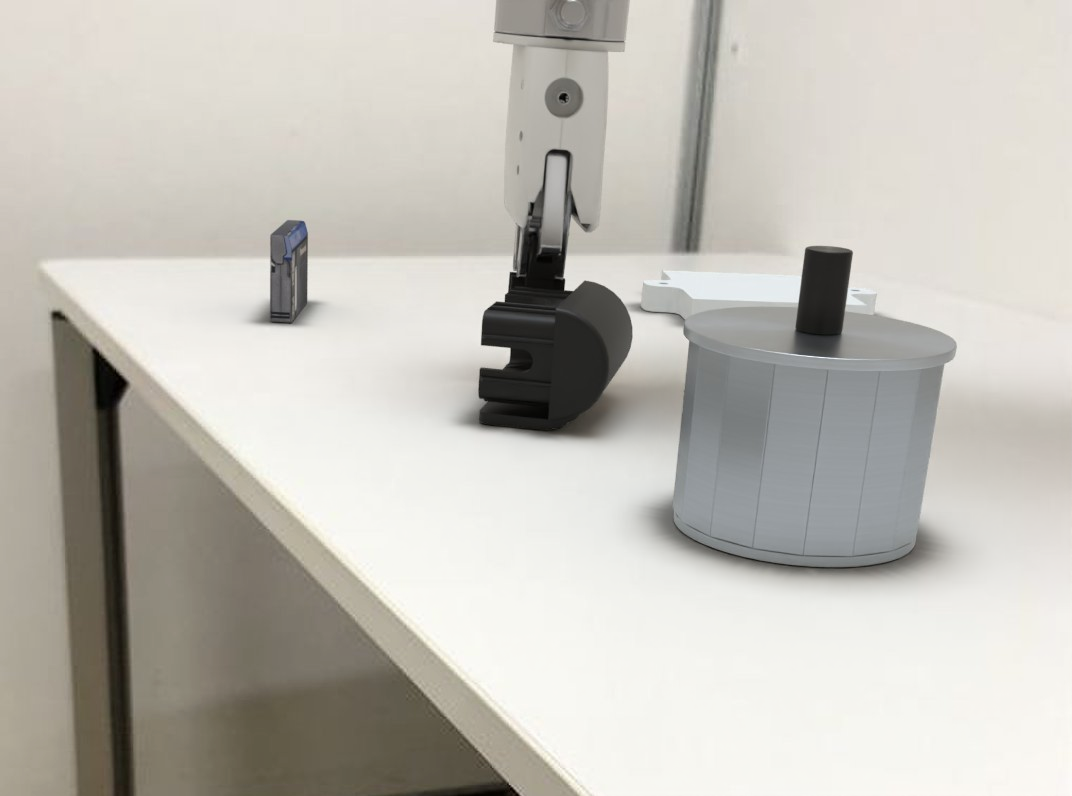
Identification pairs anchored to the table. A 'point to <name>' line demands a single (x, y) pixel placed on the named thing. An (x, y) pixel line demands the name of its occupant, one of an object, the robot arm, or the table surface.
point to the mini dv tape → (288, 271)
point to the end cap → (552, 354)
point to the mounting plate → (734, 292)
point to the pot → (803, 460)
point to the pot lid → (821, 327)
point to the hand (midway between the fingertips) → (531, 341)
